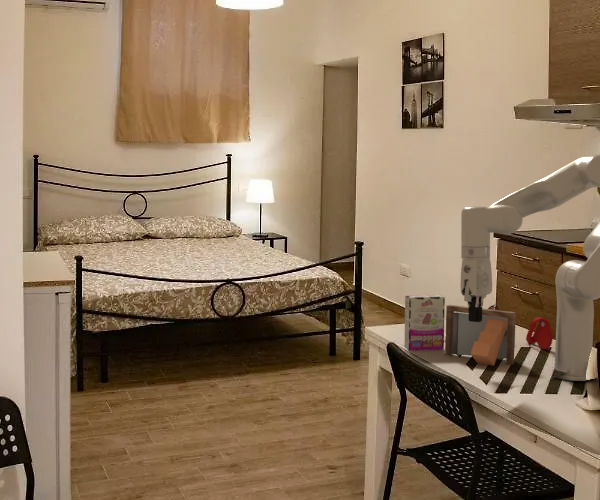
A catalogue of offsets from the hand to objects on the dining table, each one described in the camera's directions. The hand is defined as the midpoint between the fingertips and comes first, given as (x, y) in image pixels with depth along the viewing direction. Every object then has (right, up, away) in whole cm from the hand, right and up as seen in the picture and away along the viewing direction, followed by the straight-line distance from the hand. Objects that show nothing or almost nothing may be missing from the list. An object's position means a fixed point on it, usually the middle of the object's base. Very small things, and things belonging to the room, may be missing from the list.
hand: (475, 321), depth 225 cm
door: (+5, -12, +17) cm, 21 cm away
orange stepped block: (+7, -7, +11) cm, 15 cm away
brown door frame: (+4, -12, +15) cm, 20 cm away
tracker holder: (+26, -12, +33) cm, 43 cm away
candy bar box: (-10, -11, +28) cm, 31 cm away
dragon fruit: (+14, -10, +43) cm, 47 cm away
